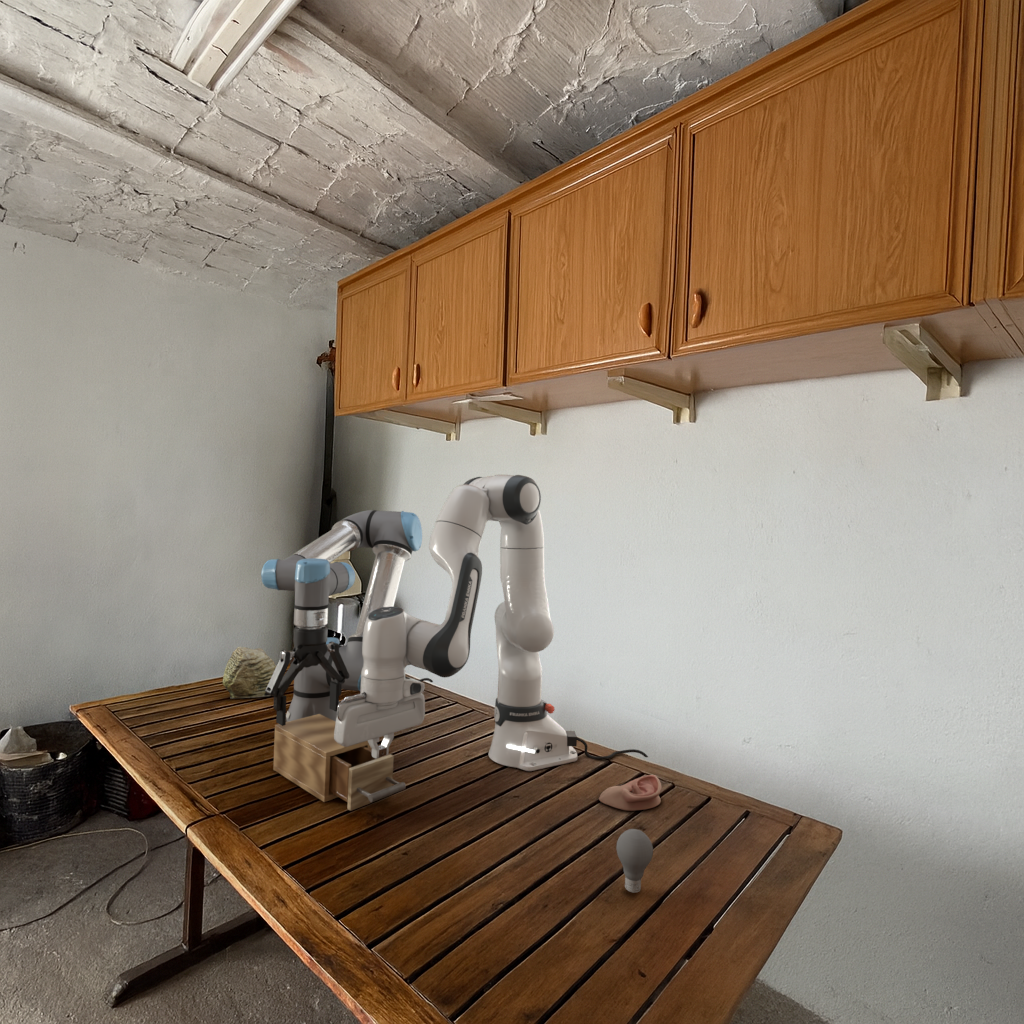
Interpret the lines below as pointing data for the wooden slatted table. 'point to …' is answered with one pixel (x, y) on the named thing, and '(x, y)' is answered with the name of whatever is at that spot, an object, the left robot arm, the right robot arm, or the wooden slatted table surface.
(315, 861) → the wooden slatted table surface
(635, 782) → the anatomical model
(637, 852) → the light bulb
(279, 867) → the wooden slatted table surface
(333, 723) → the cabinet
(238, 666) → the fossil
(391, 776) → the drawer
